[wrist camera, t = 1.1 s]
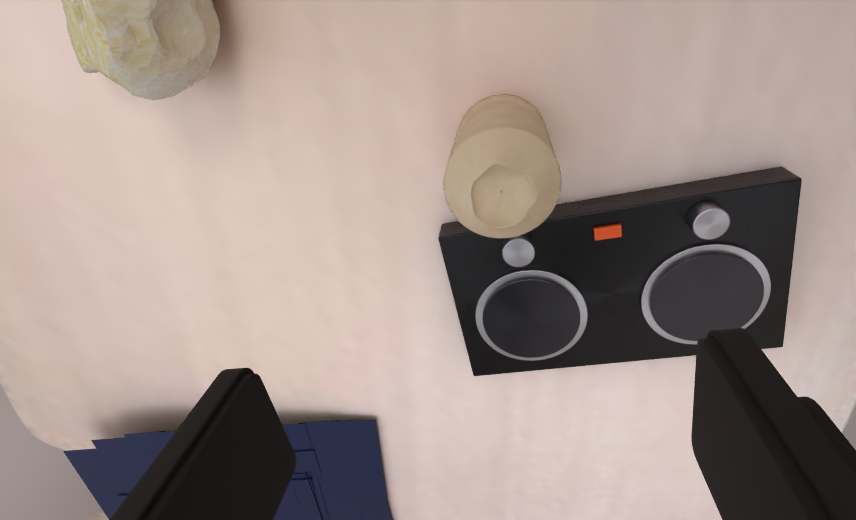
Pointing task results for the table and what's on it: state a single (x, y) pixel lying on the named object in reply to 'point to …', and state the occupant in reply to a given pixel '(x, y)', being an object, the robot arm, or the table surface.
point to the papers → (308, 488)
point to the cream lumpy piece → (145, 42)
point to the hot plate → (628, 275)
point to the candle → (502, 169)
